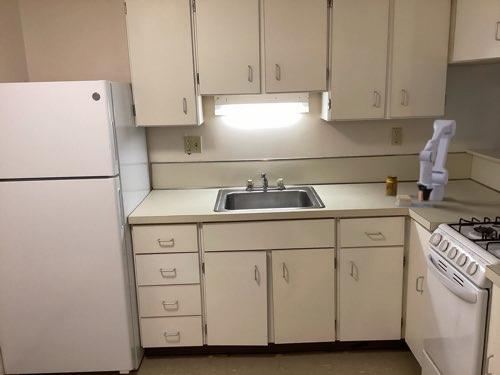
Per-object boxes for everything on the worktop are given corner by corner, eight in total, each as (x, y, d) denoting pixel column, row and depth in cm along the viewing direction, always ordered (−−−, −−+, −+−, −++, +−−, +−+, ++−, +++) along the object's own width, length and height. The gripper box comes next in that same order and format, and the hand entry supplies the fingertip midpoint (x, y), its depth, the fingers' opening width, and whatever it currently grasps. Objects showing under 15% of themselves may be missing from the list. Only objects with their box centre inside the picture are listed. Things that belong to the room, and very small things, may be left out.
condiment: (382, 196, 244) (383, 175, 241) (393, 194, 248) (394, 174, 245) (391, 198, 238) (393, 177, 235) (402, 197, 241) (404, 176, 239)
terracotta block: (418, 200, 222) (419, 190, 221) (427, 200, 222) (427, 190, 220) (420, 202, 218) (421, 192, 217) (429, 202, 217) (430, 192, 216)
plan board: (392, 202, 228) (393, 200, 228) (427, 203, 226) (427, 201, 226) (398, 208, 217) (398, 206, 217) (434, 209, 215) (434, 207, 215)
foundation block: (396, 202, 225) (396, 195, 224) (407, 202, 225) (408, 195, 224) (398, 205, 219) (399, 197, 219) (410, 205, 219) (411, 198, 218)
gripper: (414, 171, 224) (412, 195, 227) (422, 176, 210) (420, 202, 213) (427, 171, 223) (426, 196, 226) (436, 176, 209) (434, 202, 212)
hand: (424, 199), depth 219 cm, fingers closed on terracotta block, 4 cm apart
